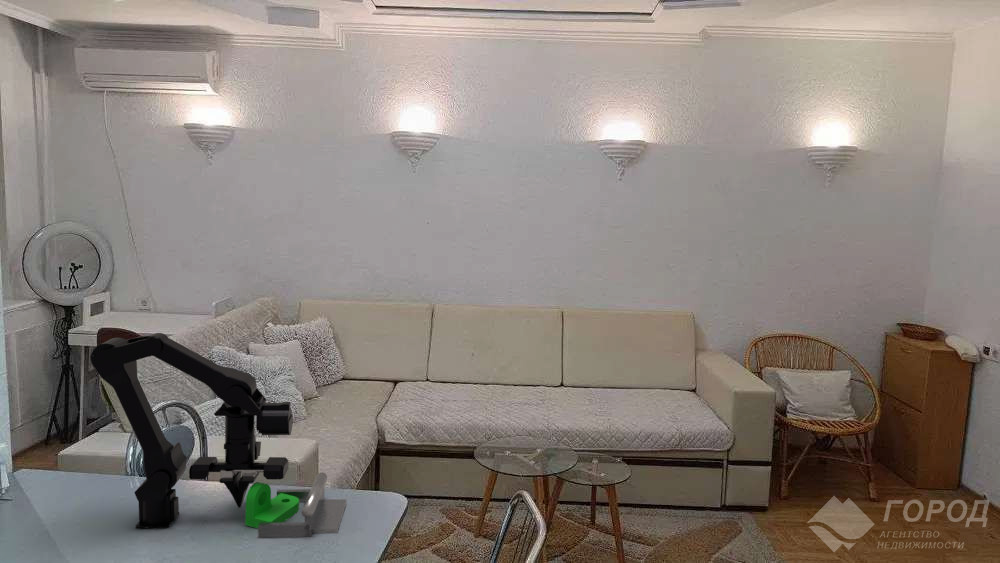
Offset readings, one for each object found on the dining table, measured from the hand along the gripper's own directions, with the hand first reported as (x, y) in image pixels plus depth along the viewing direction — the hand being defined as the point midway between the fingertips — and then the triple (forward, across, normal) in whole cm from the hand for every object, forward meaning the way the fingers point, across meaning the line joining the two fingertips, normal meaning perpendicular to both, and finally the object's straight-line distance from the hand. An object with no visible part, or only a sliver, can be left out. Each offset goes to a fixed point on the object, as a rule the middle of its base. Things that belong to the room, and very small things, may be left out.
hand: (240, 507), depth 146 cm
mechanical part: (+2, -7, -1) cm, 8 cm away
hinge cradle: (+2, -13, 0) cm, 14 cm away
